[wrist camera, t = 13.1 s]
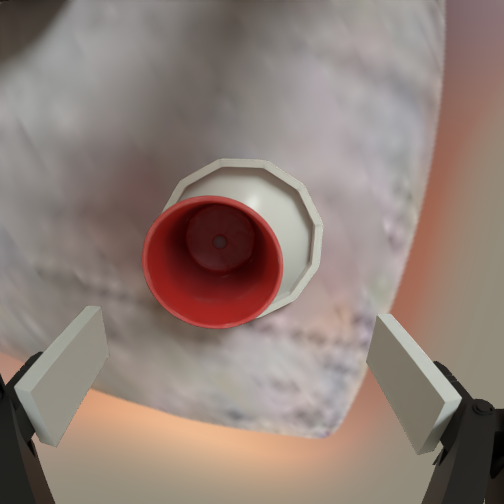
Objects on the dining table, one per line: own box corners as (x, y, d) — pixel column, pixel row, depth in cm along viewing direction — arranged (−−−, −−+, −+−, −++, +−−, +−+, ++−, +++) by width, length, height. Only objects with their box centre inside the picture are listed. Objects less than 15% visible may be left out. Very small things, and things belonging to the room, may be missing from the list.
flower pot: (221, 305, 35) (214, 354, 26) (149, 236, 33) (115, 263, 23) (293, 241, 33) (312, 271, 24) (219, 163, 31) (210, 163, 22)
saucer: (162, 158, 31) (158, 158, 29) (323, 164, 32) (327, 164, 30) (166, 307, 36) (162, 314, 34) (309, 311, 36) (313, 318, 35)
